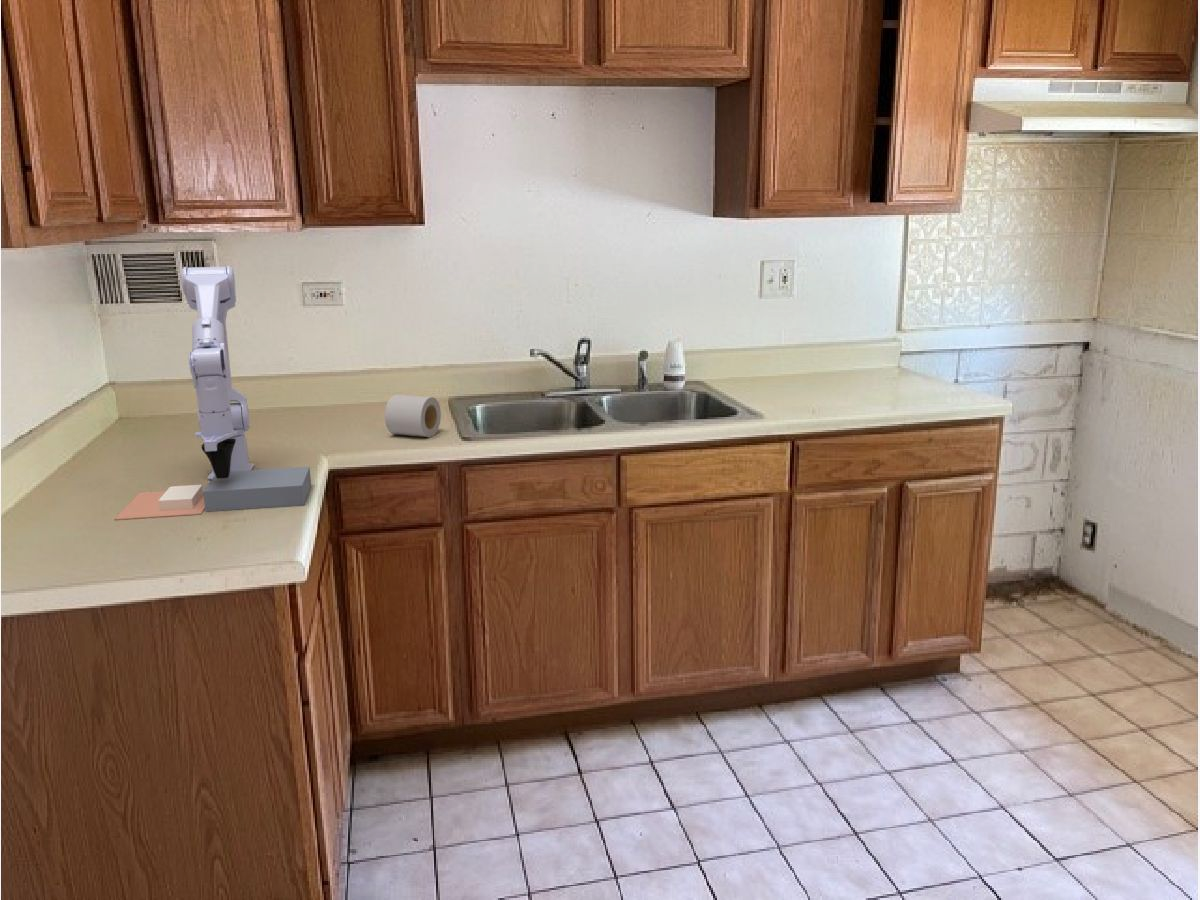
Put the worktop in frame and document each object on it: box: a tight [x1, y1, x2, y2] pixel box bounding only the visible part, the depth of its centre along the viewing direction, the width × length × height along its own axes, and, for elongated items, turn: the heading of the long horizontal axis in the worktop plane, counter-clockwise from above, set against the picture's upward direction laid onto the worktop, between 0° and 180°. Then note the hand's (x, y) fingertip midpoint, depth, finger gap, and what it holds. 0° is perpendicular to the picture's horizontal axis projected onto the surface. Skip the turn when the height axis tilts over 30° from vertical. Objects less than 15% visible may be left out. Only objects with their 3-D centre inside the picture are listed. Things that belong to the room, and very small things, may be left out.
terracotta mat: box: [114, 488, 205, 521], centre depth 175 cm, size 16×15×1 cm
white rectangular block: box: [158, 484, 204, 511], centre depth 175 cm, size 9×6×2 cm, turn 11°
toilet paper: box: [384, 394, 442, 438], centre depth 225 cm, size 10×10×10 cm
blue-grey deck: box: [203, 466, 312, 513], centre depth 178 cm, size 13×18×4 cm
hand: (223, 477), depth 176 cm, fingers closed
